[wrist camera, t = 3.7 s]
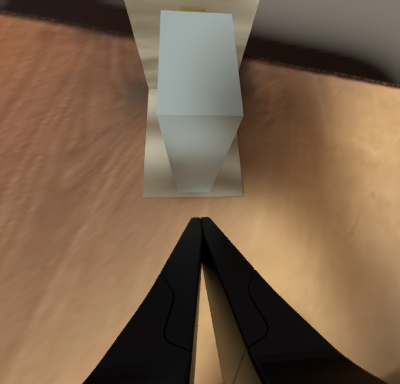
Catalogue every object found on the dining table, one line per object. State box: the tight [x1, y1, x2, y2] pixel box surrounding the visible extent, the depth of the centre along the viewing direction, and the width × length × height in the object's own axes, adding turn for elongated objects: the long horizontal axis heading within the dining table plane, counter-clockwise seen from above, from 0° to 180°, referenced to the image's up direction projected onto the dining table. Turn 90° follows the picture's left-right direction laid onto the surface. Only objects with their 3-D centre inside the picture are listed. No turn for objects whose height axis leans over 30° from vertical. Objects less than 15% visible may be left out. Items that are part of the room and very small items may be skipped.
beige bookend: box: [124, 0, 259, 198], centre depth 16 cm, size 16×11×10 cm
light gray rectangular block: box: [156, 10, 244, 192], centre depth 13 cm, size 6×4×12 cm
